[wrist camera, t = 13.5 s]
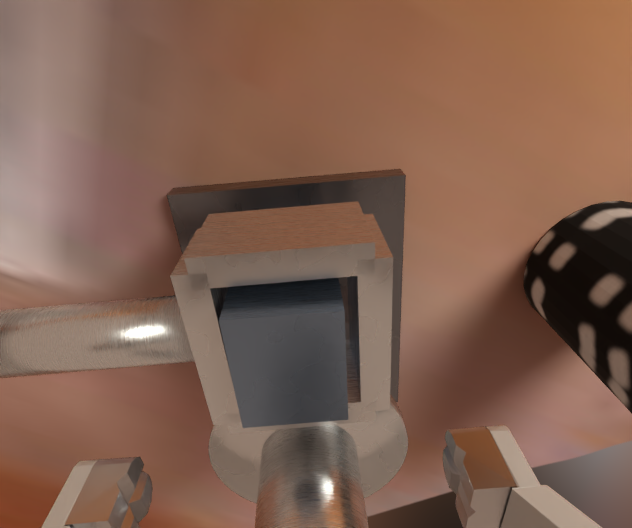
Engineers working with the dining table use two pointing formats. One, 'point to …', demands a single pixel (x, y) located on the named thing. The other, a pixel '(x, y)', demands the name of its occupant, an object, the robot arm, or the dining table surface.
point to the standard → (208, 347)
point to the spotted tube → (589, 289)
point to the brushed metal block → (287, 351)
